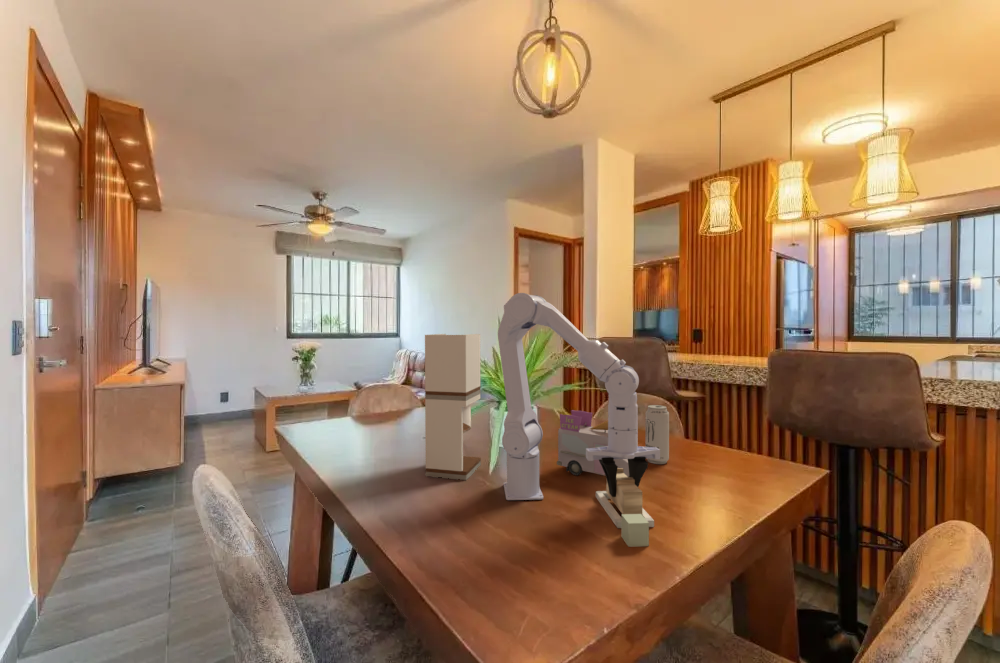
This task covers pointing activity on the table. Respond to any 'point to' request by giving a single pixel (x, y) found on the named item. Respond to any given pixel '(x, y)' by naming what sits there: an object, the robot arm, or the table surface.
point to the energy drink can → (658, 432)
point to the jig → (612, 512)
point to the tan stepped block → (626, 494)
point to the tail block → (635, 530)
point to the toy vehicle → (582, 443)
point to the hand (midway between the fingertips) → (622, 494)
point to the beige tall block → (450, 402)
